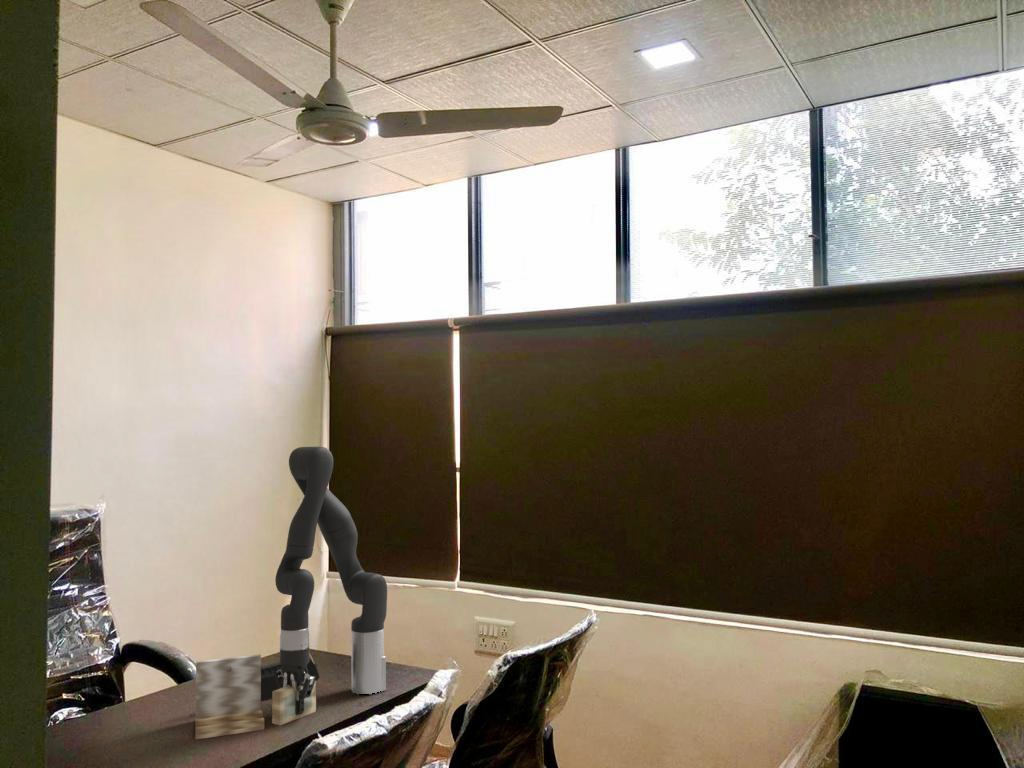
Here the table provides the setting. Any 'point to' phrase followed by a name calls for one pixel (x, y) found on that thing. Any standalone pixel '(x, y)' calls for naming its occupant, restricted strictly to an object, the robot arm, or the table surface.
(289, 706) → the frame
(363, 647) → the robot arm
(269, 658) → the table surface
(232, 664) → the marble tile stand
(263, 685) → the magazine
